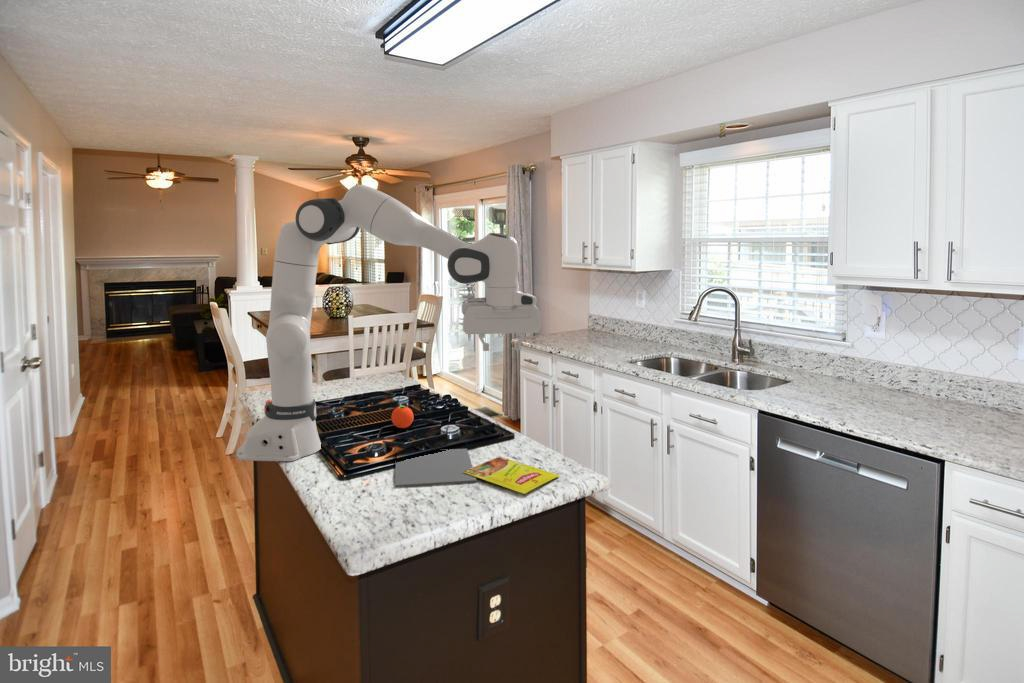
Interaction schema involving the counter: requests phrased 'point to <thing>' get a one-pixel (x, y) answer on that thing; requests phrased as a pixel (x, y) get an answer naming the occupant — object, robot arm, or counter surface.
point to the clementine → (402, 417)
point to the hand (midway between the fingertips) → (501, 350)
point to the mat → (435, 469)
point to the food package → (511, 474)
